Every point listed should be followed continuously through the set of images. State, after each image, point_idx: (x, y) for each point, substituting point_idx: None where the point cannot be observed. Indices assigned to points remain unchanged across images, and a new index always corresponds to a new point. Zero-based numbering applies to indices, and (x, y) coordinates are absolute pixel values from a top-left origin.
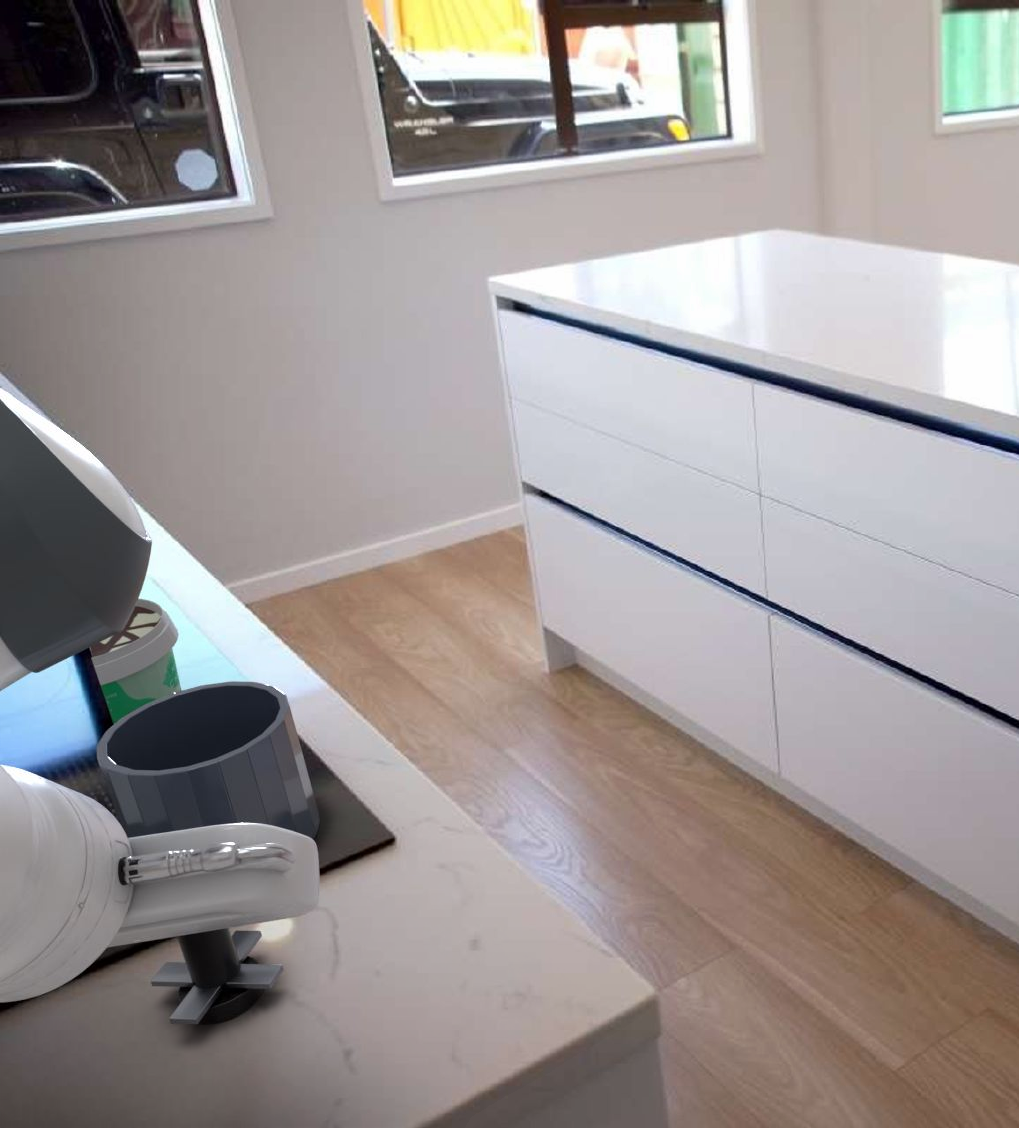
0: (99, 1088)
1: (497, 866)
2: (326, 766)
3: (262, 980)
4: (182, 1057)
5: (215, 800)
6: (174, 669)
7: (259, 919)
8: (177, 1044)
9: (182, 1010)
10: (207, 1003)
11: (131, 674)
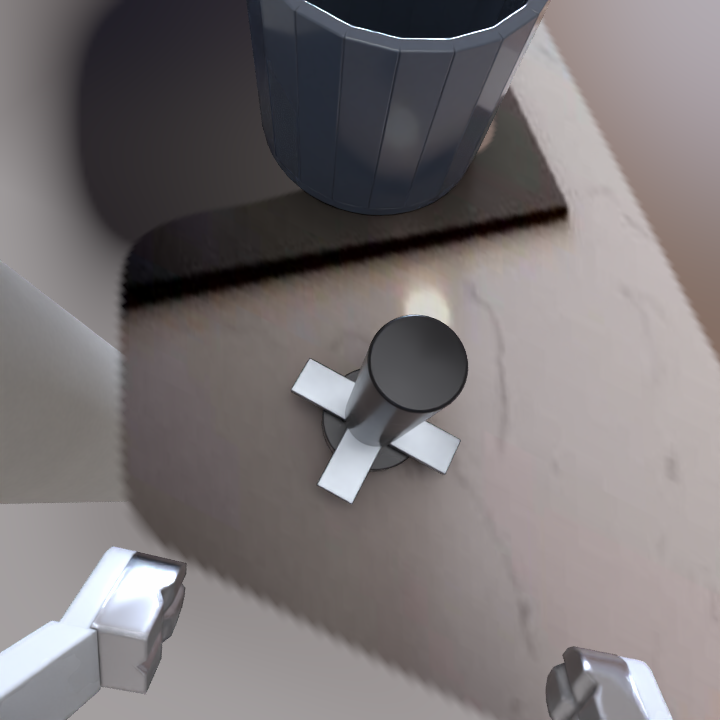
0: (223, 528)
1: (693, 326)
2: None
3: (436, 462)
4: (322, 517)
5: (415, 113)
6: None
7: None
8: (315, 487)
9: (334, 477)
10: (365, 475)
11: None
